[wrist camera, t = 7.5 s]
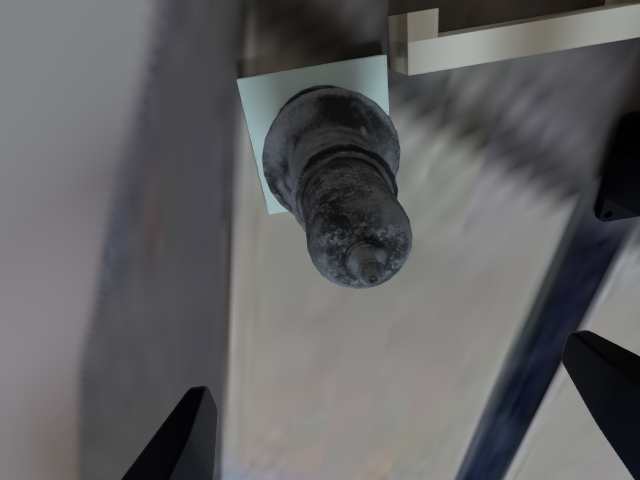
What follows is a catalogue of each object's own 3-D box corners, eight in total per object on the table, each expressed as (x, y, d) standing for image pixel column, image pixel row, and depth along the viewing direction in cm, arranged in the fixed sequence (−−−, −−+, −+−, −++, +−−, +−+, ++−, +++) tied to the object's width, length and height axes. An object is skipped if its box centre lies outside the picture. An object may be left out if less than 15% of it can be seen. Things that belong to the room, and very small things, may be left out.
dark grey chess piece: (297, 210, 20) (310, 400, 10) (243, 111, 17) (181, 231, 7) (395, 167, 19) (524, 323, 9) (357, 55, 16) (478, 93, 6)
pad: (383, 54, 17) (386, 54, 16) (389, 189, 21) (392, 193, 20) (238, 78, 17) (236, 79, 16) (269, 209, 21) (269, 214, 20)
